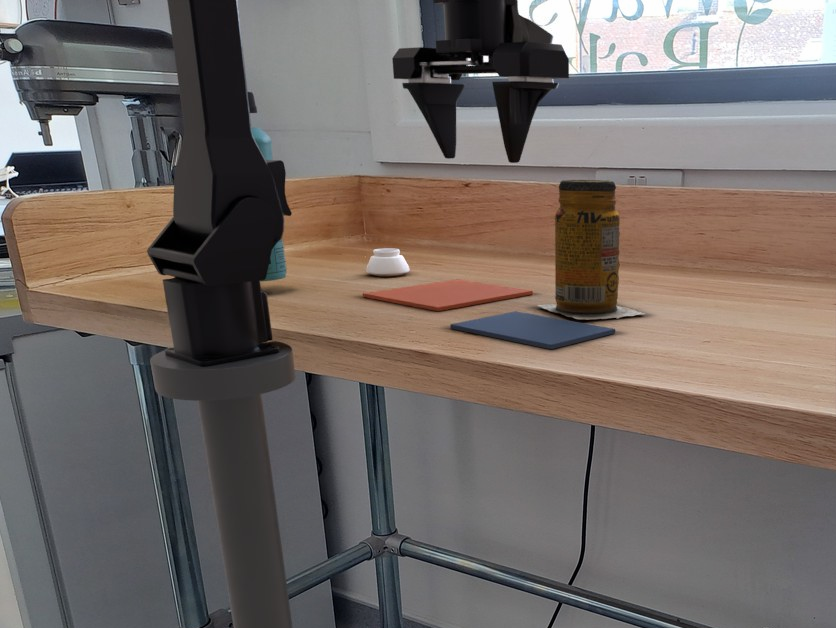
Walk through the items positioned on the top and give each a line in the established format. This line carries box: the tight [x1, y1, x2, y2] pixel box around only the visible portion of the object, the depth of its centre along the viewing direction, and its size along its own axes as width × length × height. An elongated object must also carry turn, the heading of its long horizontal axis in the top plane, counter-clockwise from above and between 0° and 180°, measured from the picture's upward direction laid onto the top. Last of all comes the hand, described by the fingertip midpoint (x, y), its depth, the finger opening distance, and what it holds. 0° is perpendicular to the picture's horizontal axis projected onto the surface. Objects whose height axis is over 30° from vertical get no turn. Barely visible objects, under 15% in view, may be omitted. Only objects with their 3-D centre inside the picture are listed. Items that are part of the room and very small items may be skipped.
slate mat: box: [450, 311, 616, 350], centre depth 73 cm, size 8×12×1 cm, turn 50°
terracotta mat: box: [362, 278, 534, 312], centre depth 90 cm, size 13×12×1 cm
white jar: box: [365, 247, 410, 278], centre depth 103 cm, size 5×3×5 cm
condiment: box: [536, 179, 645, 321], centre depth 80 cm, size 7×8×12 cm
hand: (481, 160), depth 83 cm, fingers open, 9 cm apart
